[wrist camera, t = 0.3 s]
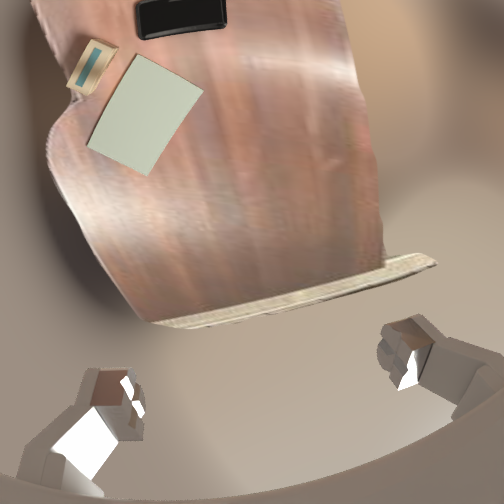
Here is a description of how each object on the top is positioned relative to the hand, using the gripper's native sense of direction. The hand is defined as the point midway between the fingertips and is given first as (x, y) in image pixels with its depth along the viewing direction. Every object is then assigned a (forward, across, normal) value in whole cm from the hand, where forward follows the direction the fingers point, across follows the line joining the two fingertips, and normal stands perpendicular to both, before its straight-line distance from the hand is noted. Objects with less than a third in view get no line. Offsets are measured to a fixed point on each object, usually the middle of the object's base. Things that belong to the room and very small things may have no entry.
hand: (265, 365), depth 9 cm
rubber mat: (+50, +11, -12) cm, 52 cm away
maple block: (+46, +18, -23) cm, 55 cm away
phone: (+44, +3, -30) cm, 53 cm away
